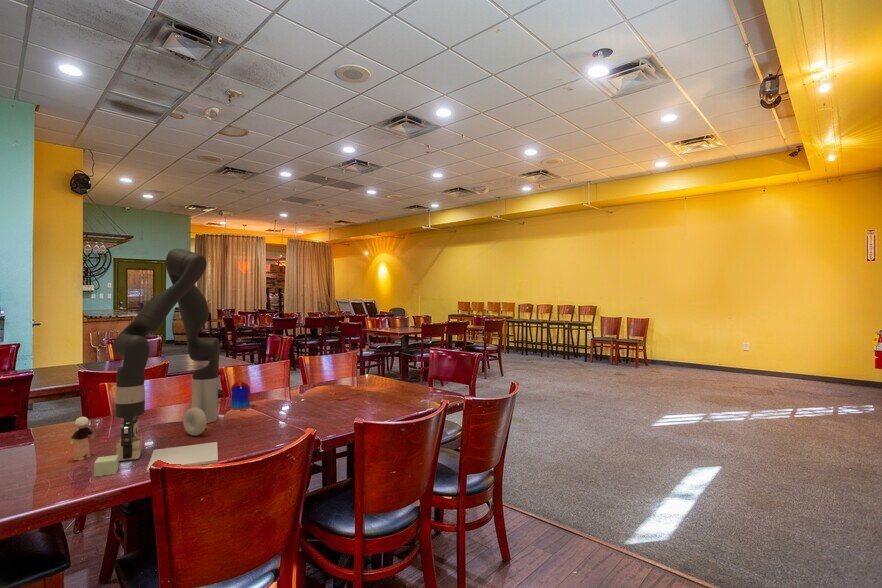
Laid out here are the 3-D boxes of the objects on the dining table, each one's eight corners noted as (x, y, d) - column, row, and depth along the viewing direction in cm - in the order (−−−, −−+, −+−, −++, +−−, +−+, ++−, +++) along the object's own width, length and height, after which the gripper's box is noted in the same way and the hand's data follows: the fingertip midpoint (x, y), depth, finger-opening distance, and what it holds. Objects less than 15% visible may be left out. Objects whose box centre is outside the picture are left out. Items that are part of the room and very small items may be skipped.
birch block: (119, 455, 136) (120, 439, 136) (141, 452, 139) (141, 436, 139) (116, 461, 131) (116, 444, 131) (138, 458, 134) (139, 441, 134)
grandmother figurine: (83, 454, 138) (84, 413, 138) (96, 454, 138) (97, 413, 138) (64, 463, 130) (65, 420, 130) (78, 463, 130) (79, 420, 130)
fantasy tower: (219, 410, 192) (220, 383, 192) (236, 404, 203) (237, 378, 203) (244, 412, 190) (245, 384, 190) (260, 405, 201) (260, 379, 201)
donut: (208, 436, 157) (209, 408, 157) (199, 438, 154) (200, 410, 154) (189, 432, 161) (190, 404, 161) (180, 434, 158) (181, 406, 158)
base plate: (153, 452, 140) (153, 449, 140) (217, 444, 149) (217, 441, 149) (146, 472, 124) (146, 469, 124) (217, 462, 133) (217, 459, 133)
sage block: (97, 471, 125) (97, 457, 125) (118, 468, 127) (118, 454, 127) (93, 477, 121) (94, 463, 121) (115, 474, 123) (115, 460, 123)
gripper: (141, 403, 130) (140, 460, 130) (147, 393, 143) (146, 445, 143) (110, 406, 127) (109, 465, 127) (119, 396, 140) (118, 449, 140)
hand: (129, 454), depth 135 cm, fingers closed on birch block, 5 cm apart
